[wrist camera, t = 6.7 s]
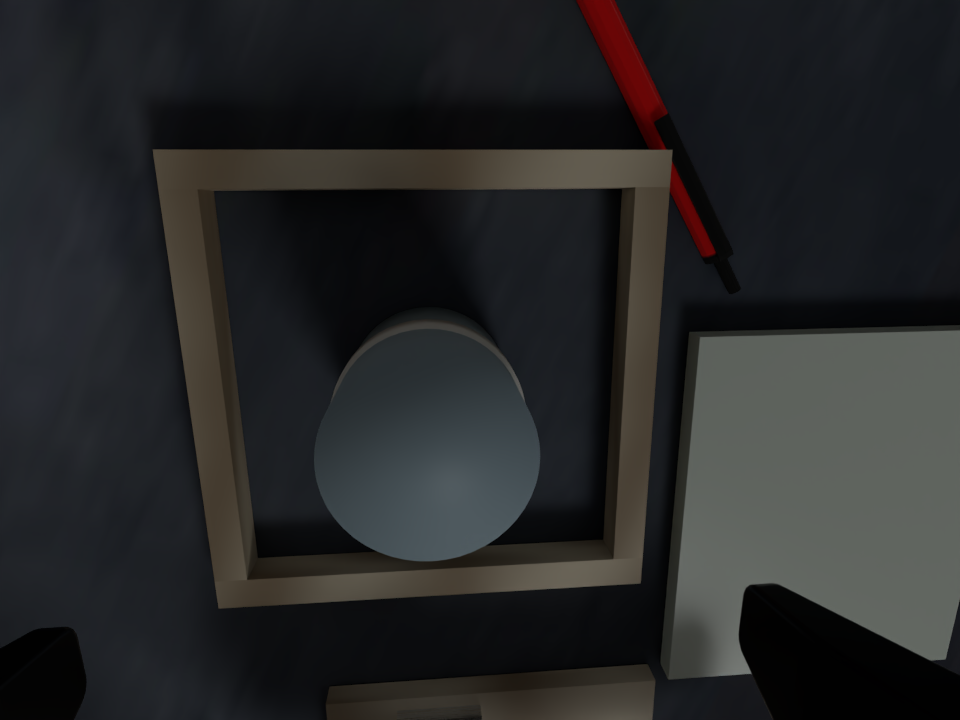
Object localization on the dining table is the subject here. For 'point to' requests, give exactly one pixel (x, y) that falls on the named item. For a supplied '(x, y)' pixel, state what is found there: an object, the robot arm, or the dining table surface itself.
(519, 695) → the base
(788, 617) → the robot arm
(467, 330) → the grey round canister
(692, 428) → the pad
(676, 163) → the pen
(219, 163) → the open square beige frame
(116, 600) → the dining table surface
